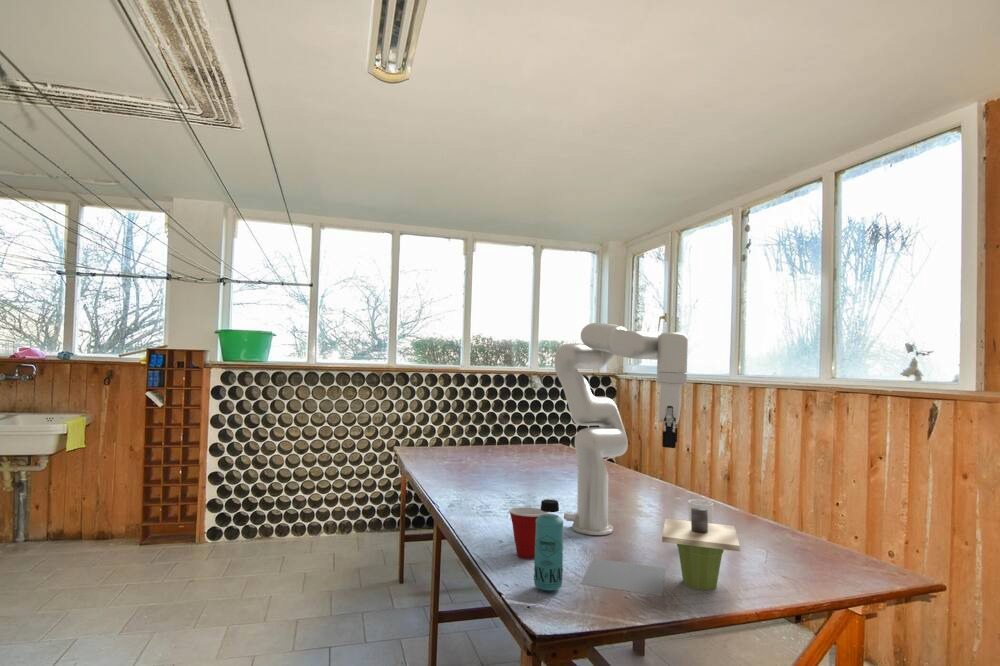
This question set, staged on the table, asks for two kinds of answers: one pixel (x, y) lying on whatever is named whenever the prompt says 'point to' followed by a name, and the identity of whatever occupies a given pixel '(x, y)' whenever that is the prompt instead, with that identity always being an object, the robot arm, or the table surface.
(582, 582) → the mat
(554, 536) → the beverage bottle
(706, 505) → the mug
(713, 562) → the plant pot
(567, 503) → the table surface
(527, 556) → the plastic cup
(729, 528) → the lid
